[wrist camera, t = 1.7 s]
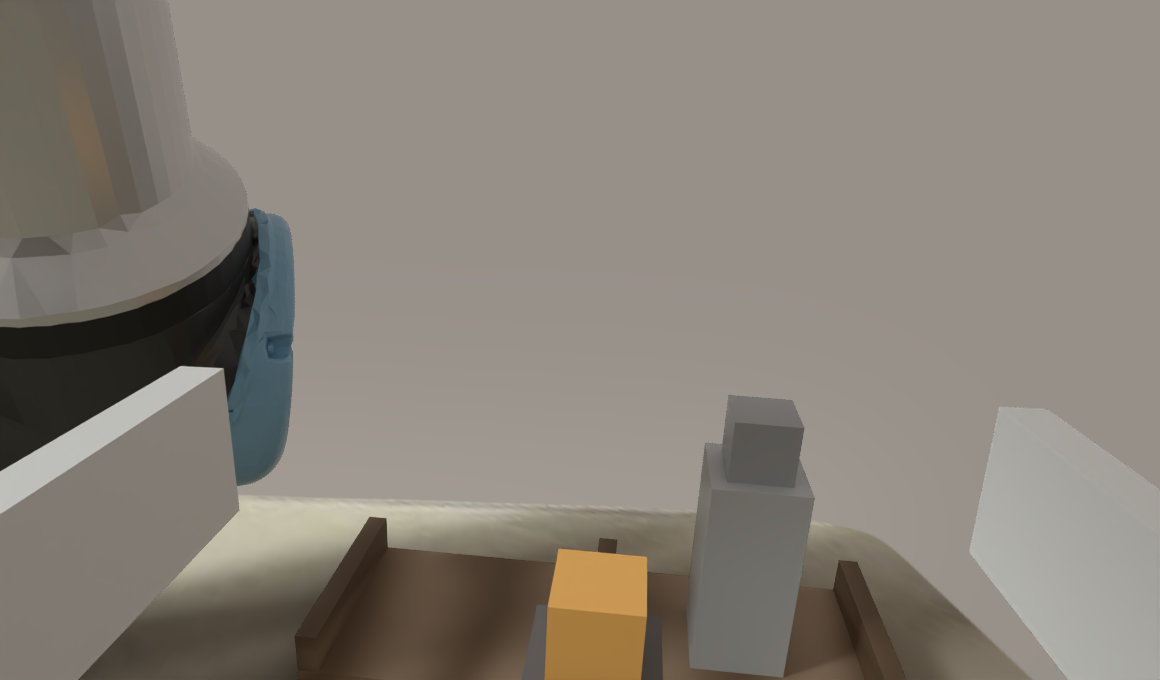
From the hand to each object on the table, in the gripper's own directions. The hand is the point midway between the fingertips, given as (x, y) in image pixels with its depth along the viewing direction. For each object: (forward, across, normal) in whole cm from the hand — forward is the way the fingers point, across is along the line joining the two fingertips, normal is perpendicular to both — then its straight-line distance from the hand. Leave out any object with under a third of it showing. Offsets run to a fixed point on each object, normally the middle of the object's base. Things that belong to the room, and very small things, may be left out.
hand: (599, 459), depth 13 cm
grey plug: (+22, +7, -20) cm, 30 cm away
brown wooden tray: (+22, 0, -21) cm, 30 cm away
